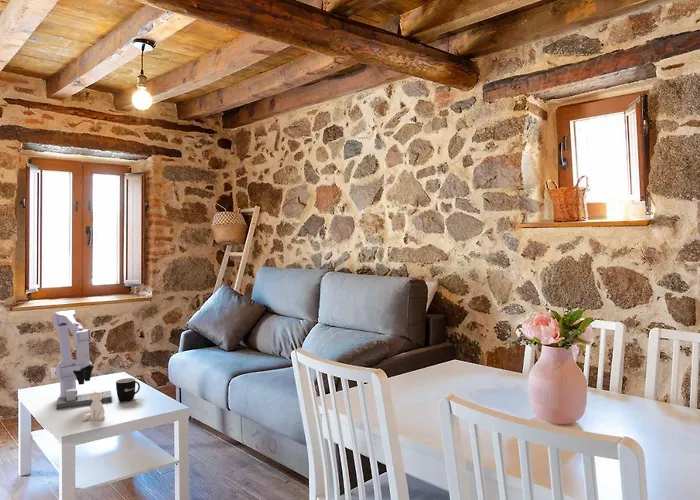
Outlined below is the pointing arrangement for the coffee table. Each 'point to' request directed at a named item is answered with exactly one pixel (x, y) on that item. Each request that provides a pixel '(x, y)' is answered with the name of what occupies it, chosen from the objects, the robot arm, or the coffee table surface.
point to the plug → (71, 394)
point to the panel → (82, 400)
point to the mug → (126, 389)
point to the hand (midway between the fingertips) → (84, 382)
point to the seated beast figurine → (95, 408)
